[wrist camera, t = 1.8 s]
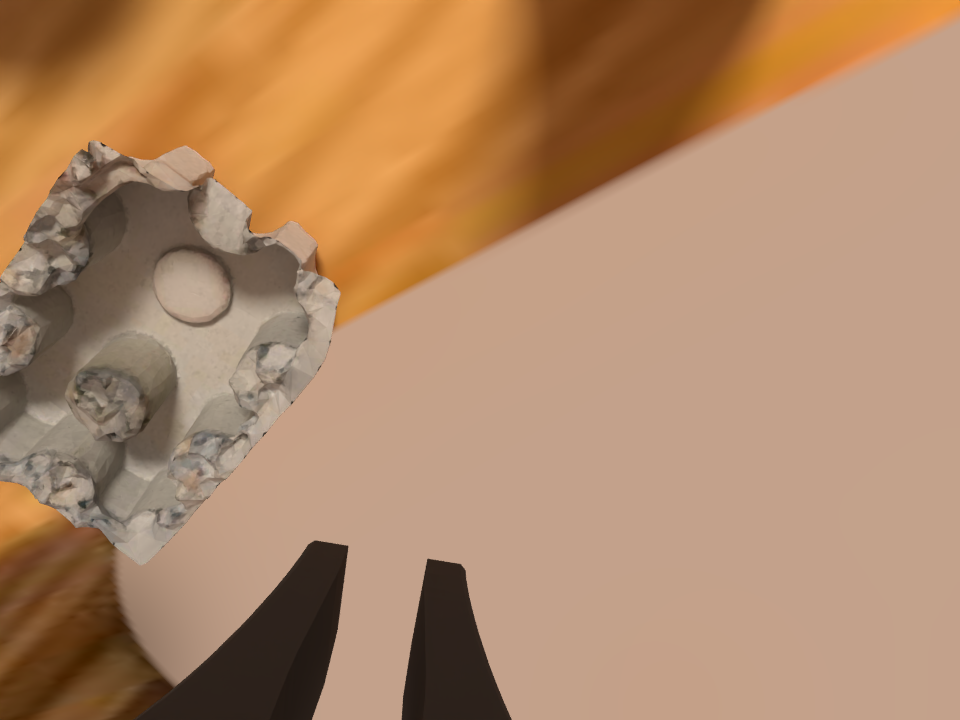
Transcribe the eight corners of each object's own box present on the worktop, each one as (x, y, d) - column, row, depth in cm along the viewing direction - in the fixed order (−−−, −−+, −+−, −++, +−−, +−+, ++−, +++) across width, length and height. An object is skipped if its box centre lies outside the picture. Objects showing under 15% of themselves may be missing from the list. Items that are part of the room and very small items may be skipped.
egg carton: (153, 99, 19) (81, 117, 15) (379, 277, 21) (364, 331, 18) (-32, 376, 22) (-129, 447, 19) (182, 507, 25) (134, 593, 21)
